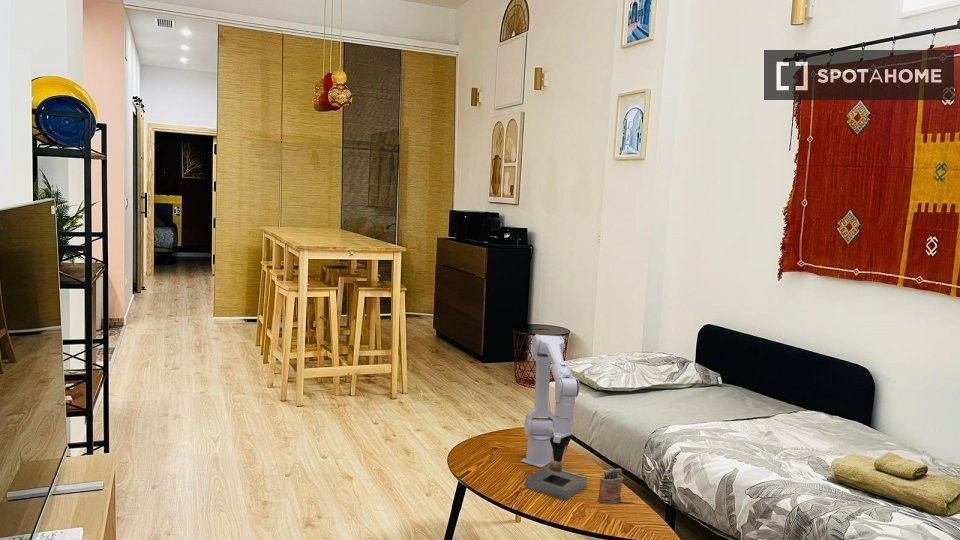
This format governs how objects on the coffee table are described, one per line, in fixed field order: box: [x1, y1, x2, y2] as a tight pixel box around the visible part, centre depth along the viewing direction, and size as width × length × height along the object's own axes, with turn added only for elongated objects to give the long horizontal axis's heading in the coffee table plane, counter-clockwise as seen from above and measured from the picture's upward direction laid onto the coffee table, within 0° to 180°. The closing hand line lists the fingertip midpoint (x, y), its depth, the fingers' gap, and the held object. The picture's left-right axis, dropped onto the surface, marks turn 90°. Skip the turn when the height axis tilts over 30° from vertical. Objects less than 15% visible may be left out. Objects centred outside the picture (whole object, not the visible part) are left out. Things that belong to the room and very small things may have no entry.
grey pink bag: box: [597, 468, 624, 505], centre depth 223 cm, size 8×3×10 cm, turn 117°
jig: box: [524, 464, 588, 501], centre depth 231 cm, size 15×14×3 cm
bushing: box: [548, 445, 568, 472], centre depth 228 cm, size 4×4×8 cm
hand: (559, 458), depth 228 cm, fingers closed on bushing, 4 cm apart
